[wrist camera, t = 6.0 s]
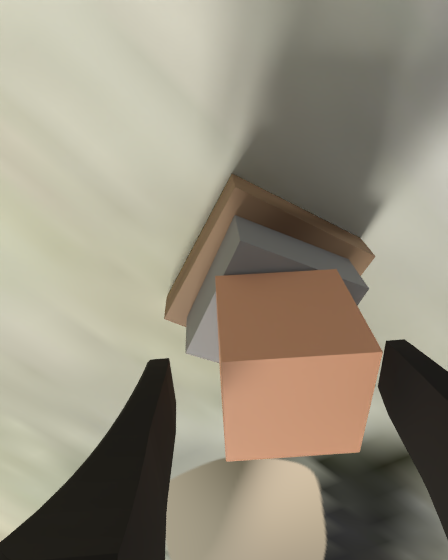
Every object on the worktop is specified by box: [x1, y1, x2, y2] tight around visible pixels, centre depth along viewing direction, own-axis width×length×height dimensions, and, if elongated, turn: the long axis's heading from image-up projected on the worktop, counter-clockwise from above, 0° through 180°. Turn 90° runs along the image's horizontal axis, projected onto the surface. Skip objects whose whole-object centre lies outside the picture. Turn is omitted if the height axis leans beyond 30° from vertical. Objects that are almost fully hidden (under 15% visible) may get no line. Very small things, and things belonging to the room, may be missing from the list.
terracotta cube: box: [215, 269, 383, 461], centre depth 15 cm, size 4×4×4 cm
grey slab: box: [186, 215, 369, 363], centre depth 18 cm, size 6×6×2 cm
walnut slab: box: [164, 174, 375, 327], centre depth 20 cm, size 7×7×2 cm
